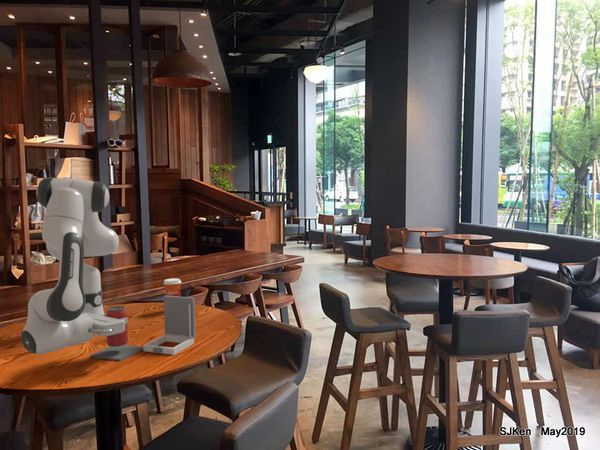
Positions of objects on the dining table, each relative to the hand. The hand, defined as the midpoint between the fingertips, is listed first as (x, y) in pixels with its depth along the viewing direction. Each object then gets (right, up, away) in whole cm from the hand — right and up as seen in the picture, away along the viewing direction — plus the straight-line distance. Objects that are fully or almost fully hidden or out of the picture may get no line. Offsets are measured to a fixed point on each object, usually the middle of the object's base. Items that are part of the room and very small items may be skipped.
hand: (118, 318), depth 156 cm
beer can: (0, -9, 0) cm, 9 cm away
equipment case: (+15, -11, +5) cm, 19 cm away
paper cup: (+3, -8, +55) cm, 56 cm away
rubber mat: (0, -12, 0) cm, 12 cm away
